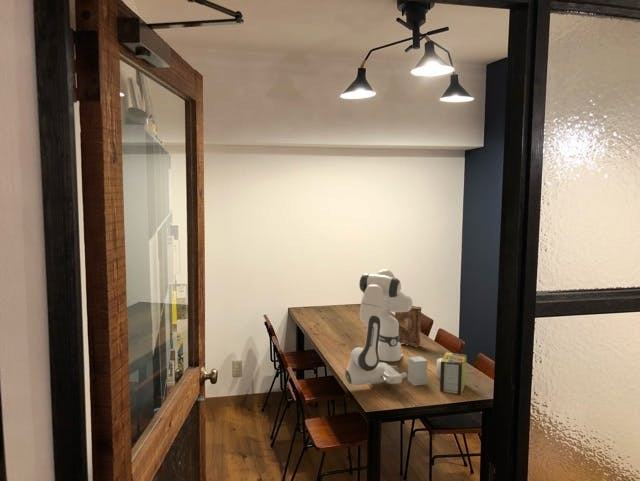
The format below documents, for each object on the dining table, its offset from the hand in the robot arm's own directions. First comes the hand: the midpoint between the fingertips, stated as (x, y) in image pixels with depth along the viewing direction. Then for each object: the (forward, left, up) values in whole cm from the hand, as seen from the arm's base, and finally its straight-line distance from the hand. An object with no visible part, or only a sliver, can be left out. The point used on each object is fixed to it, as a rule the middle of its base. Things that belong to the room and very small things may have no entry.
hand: (401, 371), depth 246 cm
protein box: (+11, +23, -7) cm, 26 cm away
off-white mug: (-3, +27, -7) cm, 28 cm away
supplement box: (0, +9, -7) cm, 11 cm away
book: (-60, +36, -7) cm, 70 cm away
